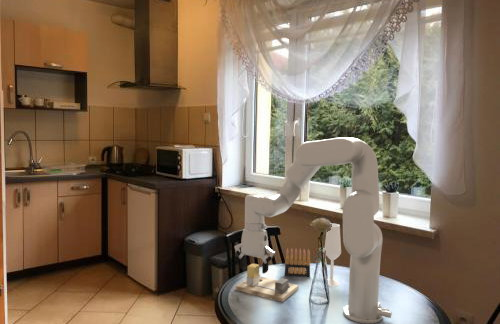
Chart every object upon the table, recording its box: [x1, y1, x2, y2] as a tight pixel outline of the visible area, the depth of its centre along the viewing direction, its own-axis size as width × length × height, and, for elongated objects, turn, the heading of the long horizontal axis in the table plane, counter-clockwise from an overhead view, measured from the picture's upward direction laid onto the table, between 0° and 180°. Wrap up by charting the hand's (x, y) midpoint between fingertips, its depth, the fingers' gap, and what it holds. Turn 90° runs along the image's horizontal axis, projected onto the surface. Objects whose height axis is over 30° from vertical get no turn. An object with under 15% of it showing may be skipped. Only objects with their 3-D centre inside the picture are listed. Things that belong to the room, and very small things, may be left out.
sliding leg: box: [245, 263, 262, 286], centre depth 154 cm, size 3×8×7 cm, turn 150°
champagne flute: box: [324, 223, 342, 287], centre depth 159 cm, size 7×7×24 cm
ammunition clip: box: [284, 247, 311, 278], centre depth 167 cm, size 11×2×12 cm, turn 84°
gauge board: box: [235, 276, 299, 303], centre depth 152 cm, size 20×14×6 cm
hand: (253, 270), depth 152 cm, fingers open, 9 cm apart
